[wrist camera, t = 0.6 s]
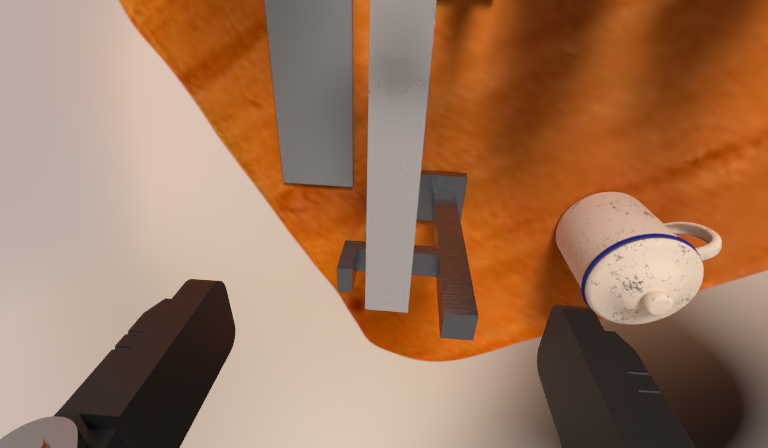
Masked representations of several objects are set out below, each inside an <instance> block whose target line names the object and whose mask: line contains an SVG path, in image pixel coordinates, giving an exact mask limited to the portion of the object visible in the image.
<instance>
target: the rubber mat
mask: <svg viewBox="0 0 768 448" xmlns="http://www.w3.org/2000/svg"><path fill="white" fill-rule="evenodd" d="M264 4H265V14H266V23H267V33H268V42H269V52H270V61H271V70H272V80H273V89H274V99H275V108H276V118H277V127H278V136H279V146H280V155H281V165H282V174H283V182H284V183H299V184H314V185H329V186H344V187H353V0H264Z"/></svg>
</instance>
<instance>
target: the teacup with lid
mask: <svg viewBox="0 0 768 448" xmlns="http://www.w3.org/2000/svg"><path fill="white" fill-rule="evenodd" d="M676 234H683V235H690V236H694V237H697V238H700V239H702V240H704V241H706V242H707V243H708V244H707V245H704V246H701V247H697V248H694V247H693V246H692V245H691V244H690V243H688V242H687V241H685V240H683V239H681V238H679V237H677V236H676ZM556 243H557V246H558V248H559V250H560V252H561V254H562V255H563V257H564V259H565V261H566V263H567V264H568V266H569V268H570V270H571V271H572V273H573V275H574V277H575V279H576V280H577V282H578V284H579V286H580V288H581V291H582V296H583V299H584V301H585V302H586V304H587V305H588V307H589V308H591V309H592V310H593V311H594V312H595V313H596V314H598V315H599V316H601V317H602V318H605V319H607V320H609V321H612V322H616V323H622V324H642V323H648V322H653V321H656V320H659V319H662V318H664V317H667V316H669V315H671V314H673V313H674V312H676V311H678V310H679V309H681V308H682V307H683V306H685V305H686V304H687V303H688V302H689V301H690V300H691V299H692V298H693V297H694V296H695V294H696V293H697V291H698V290H699V288H700V286H701V283H702V280H703V273H704V270H703V263H702V261H703V260H707V259H710V258H712V257H714V256H715V255H717V254H718V253H719V252H720V250H721V247H722V240H721V237H720V236H719V235H718V234H717V233H716V232H715V231H713V230H712V229H710V228H708V227H705V226H703V225H699V224H695V223H690V222H670V223H664V224H663V223H662V222H661V221H660V220H659V219H658V218H657V217H656V216H655V215H653V214H652V213H651V212H650V211H649V210H648V209H647V208H646V207H645V206H644V205H643V204H642V203H640V202H639V201H638V200H637V199H636V198H634V197H632V196H630V195H628V194H625V193H620V192H601V193H596V194H593V195H590V196H587V197H585V198H583V199H581V200H580V201H578V202H576V203H575V204H574V205H572V206H571V207H570V208H569V209H568V210H567V211H566V212H565V213H564V215H563V216H562V218H561V219H560V221H559V223H558V226H557V229H556Z"/></svg>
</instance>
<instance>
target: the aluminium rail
mask: <svg viewBox="0 0 768 448" xmlns="http://www.w3.org/2000/svg"><path fill="white" fill-rule="evenodd" d="M436 3H437V0H370V31H369V94H368V158H367V221H366V284H365V309H369V310H381V311H393V312H405V313H408V305H409V295H410V284H411V273H412V262H413V251H414V241H415V230H416V219H417V208H418V197H419V186H420V176H421V165H422V154H423V143H424V132H425V122H426V111H427V100H428V89H429V78H430V68H431V57H432V46H433V35H434V24H435V14H436Z"/></svg>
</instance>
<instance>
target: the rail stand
mask: <svg viewBox="0 0 768 448" xmlns="http://www.w3.org/2000/svg"><path fill="white" fill-rule="evenodd" d="M466 183H467V174H466V173H455V172H439V171H424V170H421V176H420V186H419V197H418V208H417V219H416V220H426V221H433V234H434V247H429V246H415V245H414V251H413V262H412V273H411V275H420V276H433V277H436V279H437V295H438V310H439V325H440V338H450V339H462V340H473V338H474V334H475V329H476V325H477V320H478V312H477V307H476V301H475V296H474V291H473V285H472V280H471V275H470V270H469V264H468V259H467V254H466V248H465V243H464V238H463V233H462V227H461V222H460V220H461V214H462V208H463V201H464V195H465V189H466ZM357 271H366V242H361V241H347V240H345V244H344V247H343V250H342V254H341V257H340V260H339V264H338V267H337V282H338V291H340V292H352V290H353V285H354V281H355V277H356V272H357Z"/></svg>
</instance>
